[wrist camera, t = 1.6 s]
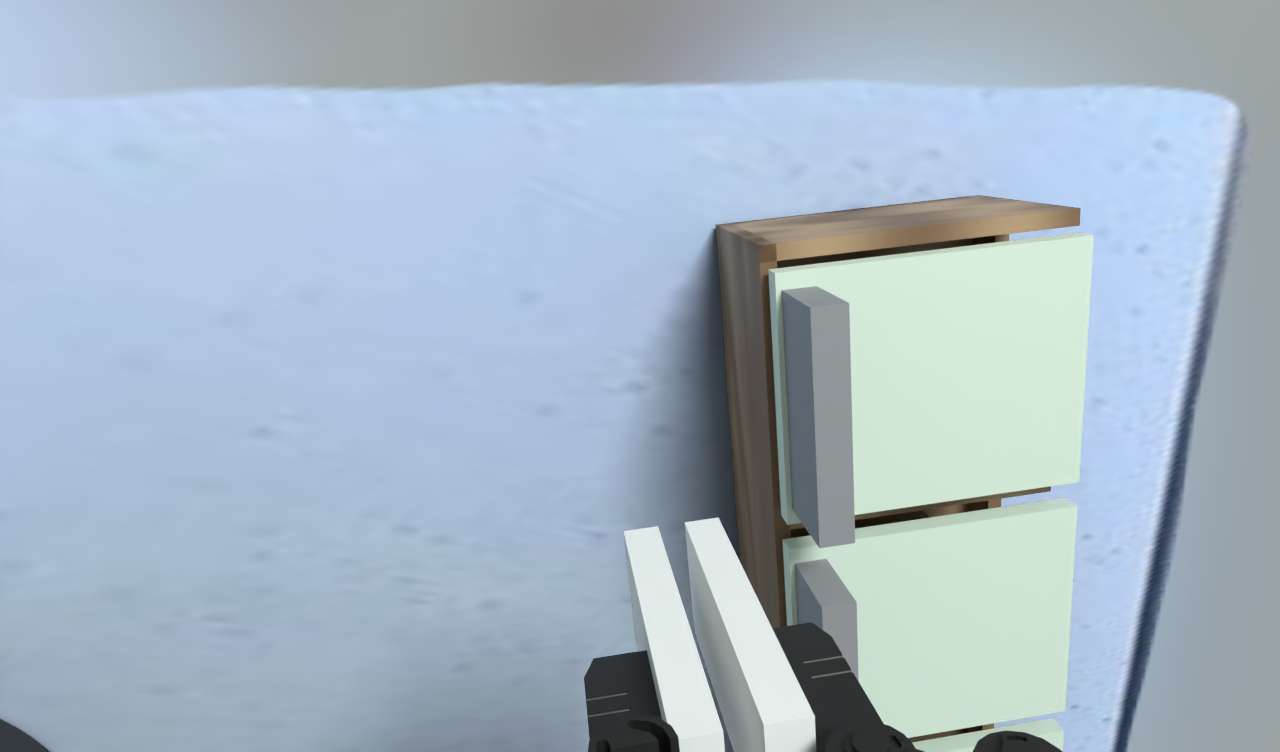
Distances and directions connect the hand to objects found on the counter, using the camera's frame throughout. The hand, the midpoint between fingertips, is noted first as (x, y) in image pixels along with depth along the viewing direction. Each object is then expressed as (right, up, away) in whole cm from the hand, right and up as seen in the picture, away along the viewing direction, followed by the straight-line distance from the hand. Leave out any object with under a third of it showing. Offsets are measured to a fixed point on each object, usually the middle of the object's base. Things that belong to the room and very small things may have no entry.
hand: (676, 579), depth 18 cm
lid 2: (+10, -5, +15) cm, 19 cm away
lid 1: (+9, +4, +12) cm, 16 cm away
